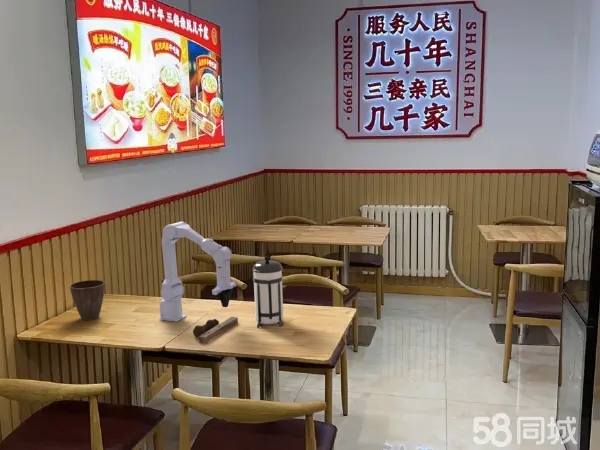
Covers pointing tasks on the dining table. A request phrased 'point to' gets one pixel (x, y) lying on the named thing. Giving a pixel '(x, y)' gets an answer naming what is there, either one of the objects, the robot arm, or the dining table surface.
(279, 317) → the coffee press
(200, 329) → the bolt
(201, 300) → the dining table surface
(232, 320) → the batten
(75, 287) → the plant pot
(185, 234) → the robot arm
